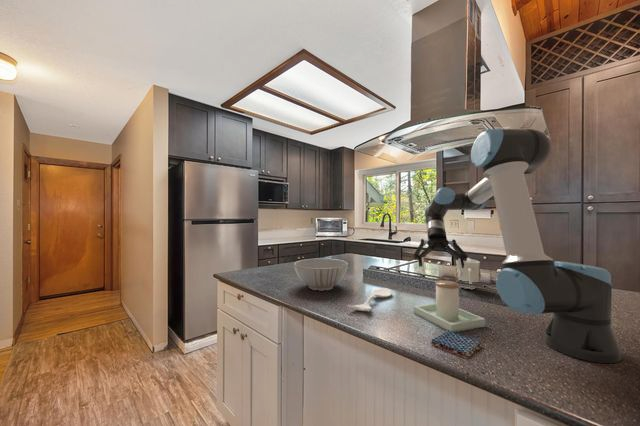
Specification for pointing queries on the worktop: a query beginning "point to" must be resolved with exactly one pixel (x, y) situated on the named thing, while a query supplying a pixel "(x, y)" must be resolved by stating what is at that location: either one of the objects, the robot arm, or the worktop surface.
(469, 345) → the woven mat
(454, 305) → the canister
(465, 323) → the tray
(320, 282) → the decorative bowl
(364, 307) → the spoon
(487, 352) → the worktop surface
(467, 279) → the pitcher
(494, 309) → the worktop surface
